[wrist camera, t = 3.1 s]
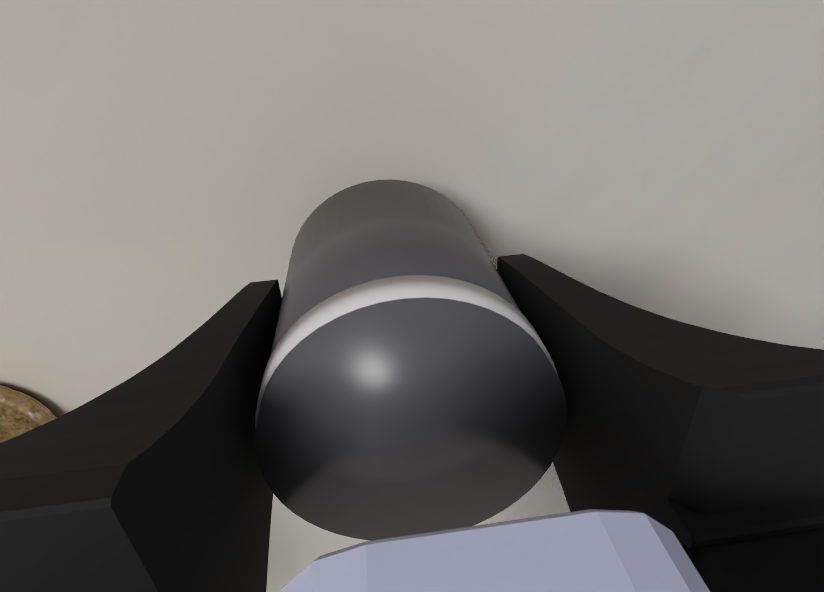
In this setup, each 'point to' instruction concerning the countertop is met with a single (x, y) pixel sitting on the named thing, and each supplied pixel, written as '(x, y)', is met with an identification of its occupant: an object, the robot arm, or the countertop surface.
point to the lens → (402, 373)
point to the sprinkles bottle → (20, 413)
